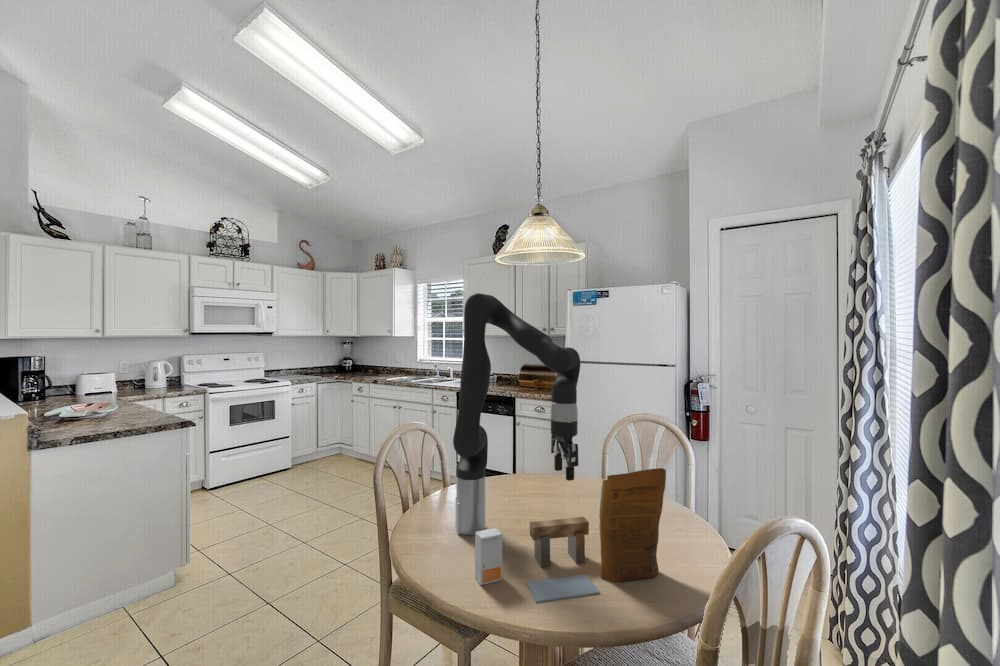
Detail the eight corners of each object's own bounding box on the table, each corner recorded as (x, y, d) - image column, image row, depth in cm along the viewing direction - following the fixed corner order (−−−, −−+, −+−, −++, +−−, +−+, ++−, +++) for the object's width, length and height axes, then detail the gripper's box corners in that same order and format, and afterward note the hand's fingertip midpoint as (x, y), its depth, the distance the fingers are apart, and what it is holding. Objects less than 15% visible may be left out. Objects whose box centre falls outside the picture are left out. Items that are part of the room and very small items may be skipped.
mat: (536, 602, 103) (536, 600, 103) (526, 583, 111) (526, 581, 111) (599, 593, 107) (599, 591, 107) (586, 575, 114) (586, 574, 114)
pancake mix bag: (673, 580, 112) (673, 470, 112) (602, 588, 109) (603, 475, 108) (658, 566, 119) (659, 463, 119) (592, 574, 115) (592, 467, 115)
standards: (541, 568, 118) (541, 537, 118) (534, 556, 124) (534, 527, 124) (584, 562, 121) (584, 532, 121) (576, 551, 127) (576, 523, 126)
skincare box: (480, 586, 110) (480, 538, 109) (474, 577, 113) (474, 531, 113) (502, 580, 112) (502, 533, 112) (496, 572, 116) (496, 527, 116)
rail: (533, 540, 119) (533, 527, 119) (529, 534, 122) (529, 522, 122) (588, 534, 122) (588, 521, 122) (583, 528, 126) (583, 516, 126)
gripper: (543, 414, 131) (542, 468, 131) (561, 423, 117) (561, 484, 117) (566, 412, 133) (566, 466, 133) (587, 422, 119) (587, 482, 119)
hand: (564, 475), depth 125 cm, fingers open, 8 cm apart
